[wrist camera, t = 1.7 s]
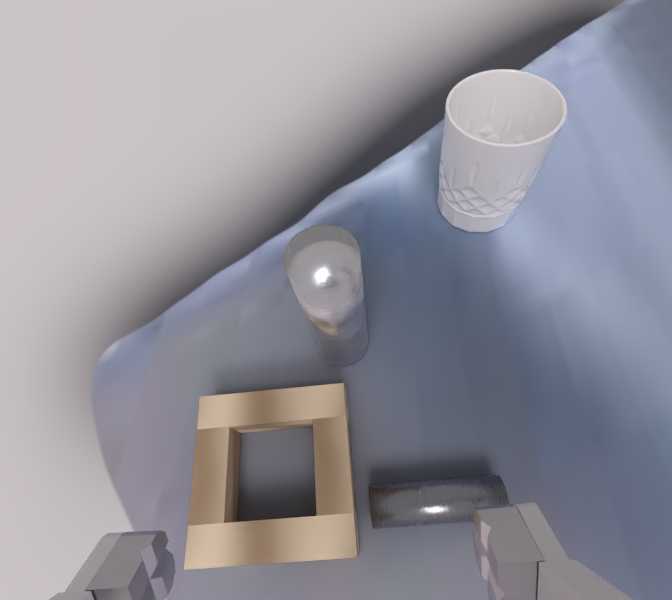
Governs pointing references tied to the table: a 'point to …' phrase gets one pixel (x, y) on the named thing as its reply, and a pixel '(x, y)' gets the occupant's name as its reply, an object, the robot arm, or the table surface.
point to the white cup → (495, 145)
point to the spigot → (330, 291)
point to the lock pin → (433, 501)
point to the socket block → (223, 480)
